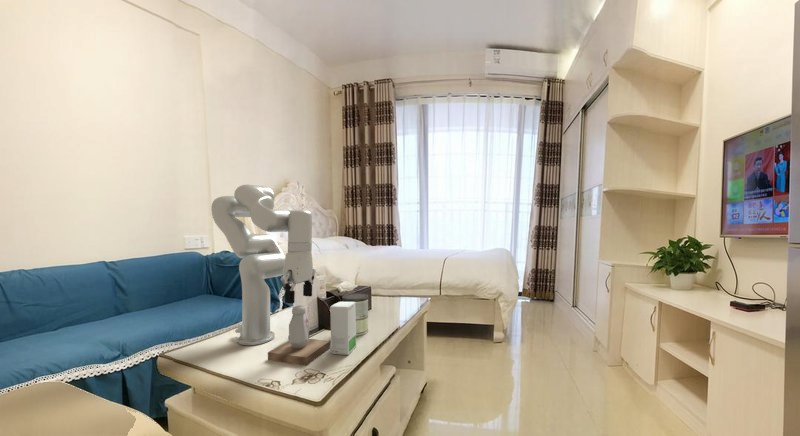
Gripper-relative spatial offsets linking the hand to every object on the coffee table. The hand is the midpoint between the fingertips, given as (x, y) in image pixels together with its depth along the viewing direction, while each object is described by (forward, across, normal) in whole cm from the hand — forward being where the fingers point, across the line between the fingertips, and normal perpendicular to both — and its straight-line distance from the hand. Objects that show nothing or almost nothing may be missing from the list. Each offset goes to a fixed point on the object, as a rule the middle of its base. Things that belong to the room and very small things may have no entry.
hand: (299, 299), depth 104 cm
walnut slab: (+18, 0, +1) cm, 18 cm away
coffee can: (+18, -25, +9) cm, 32 cm away
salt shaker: (+16, 0, 0) cm, 16 cm away
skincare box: (+18, -7, +13) cm, 23 cm away
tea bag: (+18, -12, -8) cm, 23 cm away
